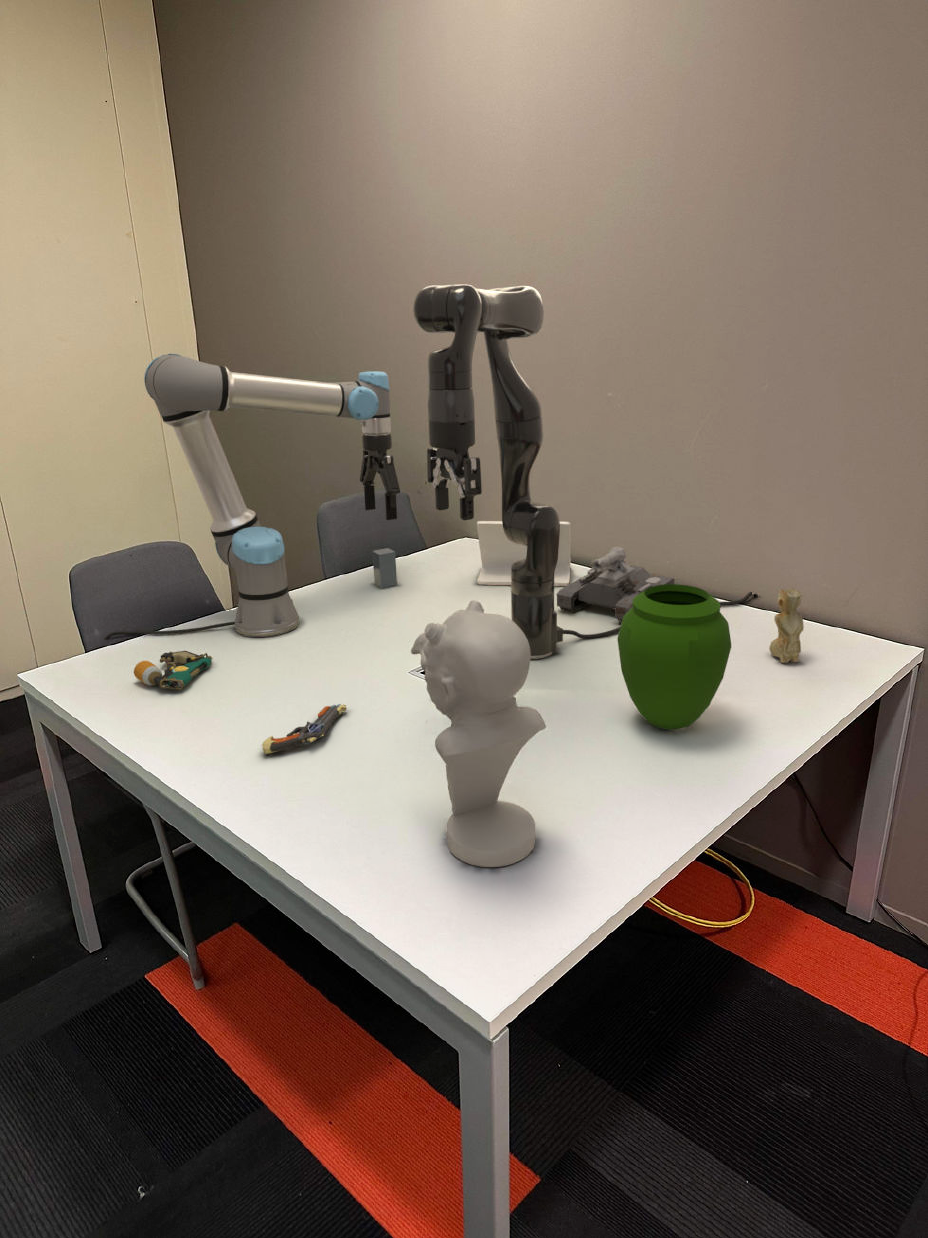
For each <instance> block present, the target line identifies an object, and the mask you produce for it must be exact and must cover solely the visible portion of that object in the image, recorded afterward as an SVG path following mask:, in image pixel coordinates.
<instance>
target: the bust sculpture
mask: <svg viewBox="0 0 928 1238" xmlns="http://www.w3.org/2000/svg"><path fill="white" fill-rule="evenodd" d="M530 653H531V652H530V646H529V643H528V640H527V638H526V636H525V634H524V633H523V632H522V630H521V629H520V628H519V627H518V626H517V625H516V624H515V623H514V622H513V621H512V620H511V618H508V617H507V616H504V615H503V614H502V615H501V614H496V613H485V609H484V607H483V605H482V603H481V602H480V601H478V600H473V599H472V600H470V601H469V603H468V605H467V607H466V609H460V610H457V611H455V612H453V613H451V615H449V616H448V617H447V618H446V619H445V620H444V622H442V624H441V623H435V622H430V623H428V624H427V625H426V626H425V628H424V632H423V633H421V634H419V635H418V636H417V637H416V638H415V640H414V642H413V645H412V647H411V649H410V654H412V655H420V667H421V669H422V670H423V672H424V681H425V682H426V690H427V693H428V696H429V698H430V701H431V702H432V704H434V706H435V708H436V710H438V711H439V712H440V713H441V714H442V716H446V717H447V718H448V719H449V720H450V726H448V727H446V728H445V729H443V730H442V731H441V732H440V733H439V734H438V735H436V738H435V741H434V748H435V749H436V752H437V753H438V755H439V757H440V758H441V760H442V761H443V762H444V763H445V771H446V781H447V790H448V796H449V800H450V803H451V810H452V813H451V814H450V815H449V817H448V819H447V822H446V844H447V847H448V849H449V851H450V852H451V854H452V855H453V856H454V857H456V858H457V859H459V860H460V861H462V862H463V863H466V864H469V865H471V866H476V867H483V868H498V867H505V866H509V865H512V864H517V862H520V861H521V860H523V859H525V858H527V856H528V855H530V854H531V852H532V851H533V849H535V848H534V847H535V845H536V822H535V821H536V820H535V819H534V817H533V816H532V814H531V813H530V812H529V811H528V810H526V809H525V808H524V807H522V806H520V805H517V804H515V803H513V802H509V801H504V800H499V796H500V793H501V790H502V788H503V785H504V783H505V780H506V778H507V776H508V773H509V771H510V769H511V768H512V765H513V763H514V761H515V760H516V759H517V756H518V755H519V753H520V752H521V750H522V749H523V748H524V747H525V745H526V744H527V743H528V742H529V741H530V740H531V739H532V738H533V737H535V735H537V734H538V733H539V732H541V731H544V730H545V729H546V728H547V725H546V723H545V720H544V718H543V717H542V714H541V713H540V712H539V711H538V710H537V709H535V708H533V707H530V706H518V705H517V701H516V699H517V698H516V696H515V695H516V694H517V693H519V691H521V689H522V688H523V686H524V684H525V683H526V680H527V678H528V675H529V669H530V666H531V659H530V656H531V655H530Z"/></svg>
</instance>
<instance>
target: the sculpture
mask: <svg viewBox="0 0 928 1238" xmlns="http://www.w3.org/2000/svg"><path fill="white" fill-rule="evenodd" d="M777 592H778V595H777V606H778V609H779V611H780V612H779V613H777V614H775V615H774V617H773V618H774V623H775V625H776V627H777V633H778V636H777V637H776V638H775V639H773V640H772V641H771V642H770V643H769V648H768V649H769V652H770V654H771V655H772V656H773V657H776V658H777V657H778V658H779V659H780V660H779V661H780V663H784V664H785V663H789V662H792V663H795V662H799V659H800V653H801V651H802V646H801V645H802V643H801V639H800V638H801V637H800V636H801V634H802V633H803V631H804V629H805V627H804V618H803V615H802V614H801V613H800V612H798V609H799V607H800V606H801V604H802V600H801V597H802V596H803V594H802V593H801V592H800V591H799V590H797V589H795V588H793V587H789V588H787V589H786V588H785V589H784V588H778V589H777Z"/></svg>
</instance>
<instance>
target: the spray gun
mask: <svg viewBox="0 0 928 1238" xmlns="http://www.w3.org/2000/svg"><path fill="white" fill-rule="evenodd" d="M212 660H213V657H212V656H211V655H208V653H207V652H205V653H201V654H197V653H194V652H192V651H191V652H190V651H188V650H180V651H169V652H164V653H162V654H161V655H160V658H159V660H158V662H159V663H161V664H163V663H165V664H166V668H165V670H163V672H164V674H163V673H162V669H160V668H159V666H157V665H156V664H154V663H152V662H151V661H149V660H141V661H139V662H138V663H136V665H135V666H134V668H133V675H134V677H135V678H136V679H137V680H139V681H140V682H142V683H143V684H145V685H147V686H155V685H157V686H158V687H160V688H161V689H171V690H172V689H173V690H182V689H184V687H185V686H186V685H188V684H189V683H190V682H191V681H192V679H193V678H195V677H196V676H197V675H198V674H200V673H201V672H202V671H203V670H206V669H208V668H209V667H210V666H211V665H212V662H213V661H212ZM178 663H179V664H181V665H179V666H176V665H177V664H178Z"/></svg>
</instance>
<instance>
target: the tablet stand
mask: <svg viewBox="0 0 928 1238" xmlns="http://www.w3.org/2000/svg"><path fill="white" fill-rule="evenodd" d="M476 531H477V537H478V544H479V551H480V557H481V558H480V559H481V570H480V573H479V575H478V577H477V580H476V581H477V582H476V584H478V585H484V586H485V585H486V586H487V585H489V586H490V585H491V586H511V567H512V564H513V563H515V562H516V561H519V560H522V559H526V555H527V546H524V545H520V544H517V543H514V542H512V541H510V540H509V539H508V538H507V537H506V535H505V533H504V530H503V524H502V520H477V522H476ZM571 560H572V558H571V522H569V521H560V536H559V551H558V561H557V565H556V568H555V572H554V587H556V586H557V587H566V586H567V585H569V584H570V580H571V579H570V578H571V565H572V564H571Z"/></svg>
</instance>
